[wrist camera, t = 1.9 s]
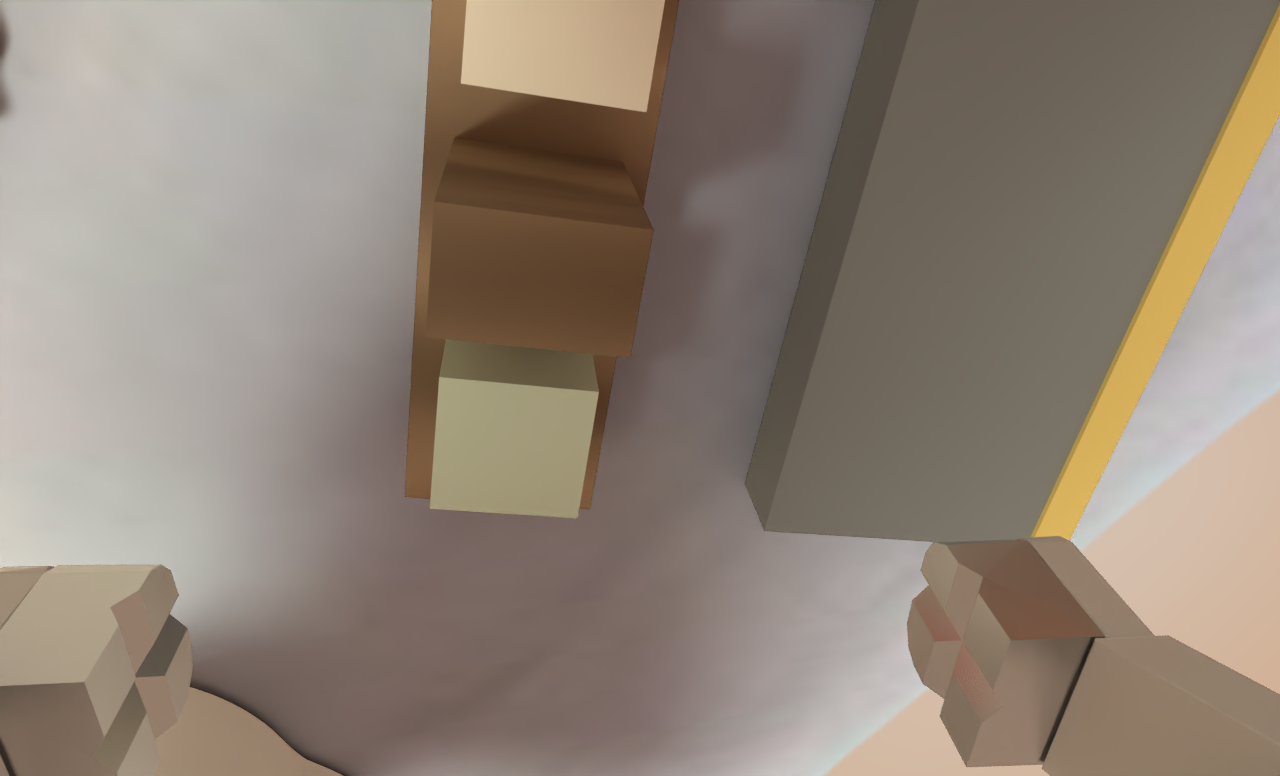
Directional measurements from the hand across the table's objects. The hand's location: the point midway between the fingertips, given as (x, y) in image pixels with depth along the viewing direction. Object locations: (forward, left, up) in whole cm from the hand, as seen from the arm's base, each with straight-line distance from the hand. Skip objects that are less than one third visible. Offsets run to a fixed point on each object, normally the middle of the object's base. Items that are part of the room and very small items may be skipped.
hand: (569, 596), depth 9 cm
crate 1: (+5, 0, -16) cm, 17 cm away
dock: (0, -15, -20) cm, 25 cm away
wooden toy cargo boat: (0, 0, -20) cm, 20 cm away
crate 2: (-6, 0, -16) cm, 17 cm away
